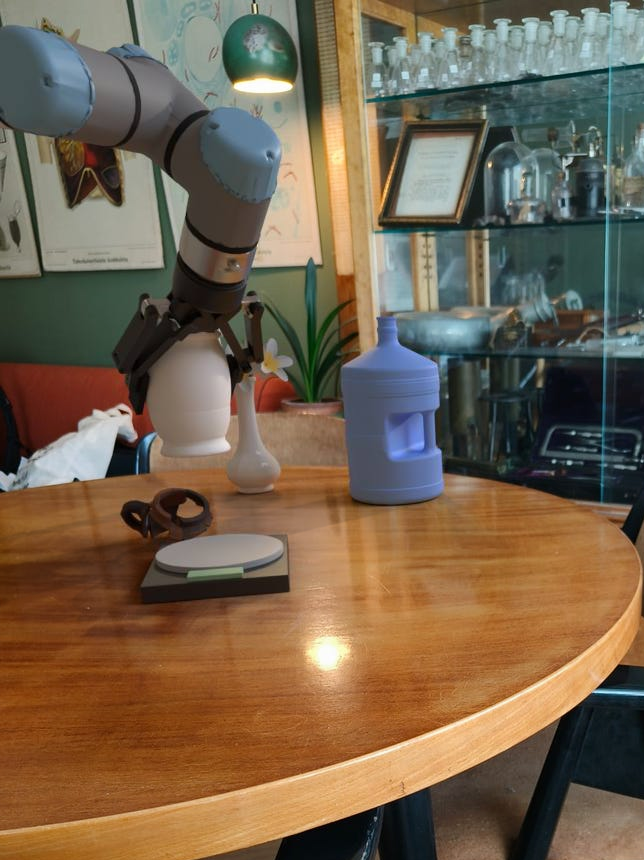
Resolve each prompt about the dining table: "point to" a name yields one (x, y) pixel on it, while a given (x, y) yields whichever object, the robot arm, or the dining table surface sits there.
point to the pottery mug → (168, 515)
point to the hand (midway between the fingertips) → (180, 402)
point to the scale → (218, 568)
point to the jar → (191, 397)
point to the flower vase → (254, 428)
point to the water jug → (391, 422)
